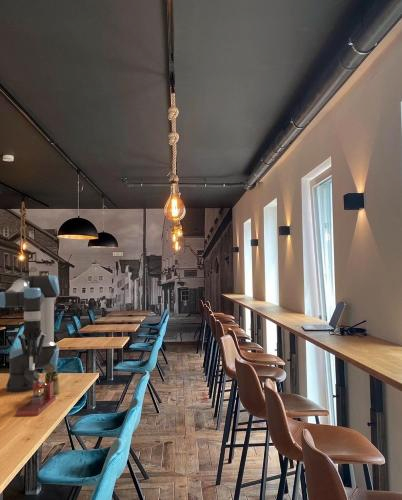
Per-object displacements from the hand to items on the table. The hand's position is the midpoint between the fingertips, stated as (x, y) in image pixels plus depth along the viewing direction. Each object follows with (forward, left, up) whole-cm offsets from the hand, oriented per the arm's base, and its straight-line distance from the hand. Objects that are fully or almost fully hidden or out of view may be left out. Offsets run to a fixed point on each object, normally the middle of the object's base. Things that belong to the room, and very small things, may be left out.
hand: (31, 370), depth 203 cm
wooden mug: (-30, -1, -20) cm, 36 cm away
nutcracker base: (-7, 0, -20) cm, 21 cm away
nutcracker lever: (-6, 0, -7) cm, 10 cm away
